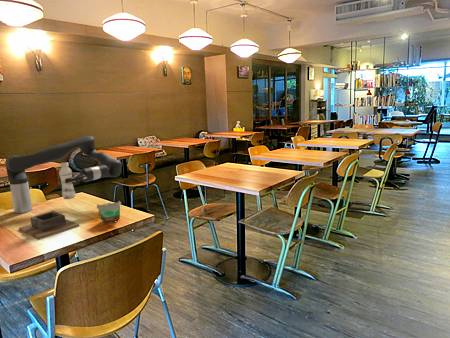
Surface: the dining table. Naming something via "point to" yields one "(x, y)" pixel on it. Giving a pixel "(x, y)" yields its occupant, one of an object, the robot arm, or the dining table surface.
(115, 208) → the food container
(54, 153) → the robot arm
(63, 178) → the plastic bottle
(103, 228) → the dining table surface
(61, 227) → the bottle holder
